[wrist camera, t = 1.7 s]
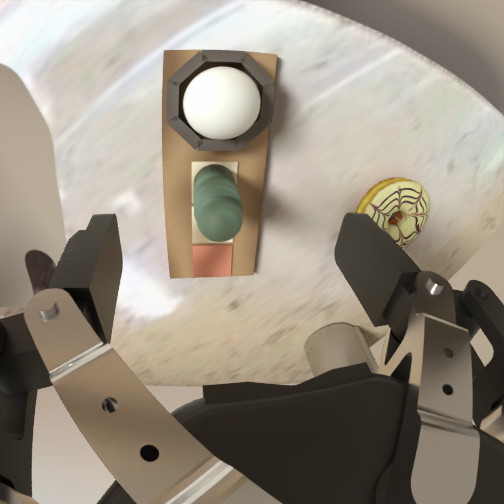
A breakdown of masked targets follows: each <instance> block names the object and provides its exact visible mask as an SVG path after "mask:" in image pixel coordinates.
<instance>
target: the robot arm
mask: <svg viewBox="0 0 504 504" xmlns="http://www.w3.org/2000/svg"><path fill="white" fill-rule="evenodd" d="M335 261H336V264H337V265H338V267H339V269H340V270H341V272H342V273H343V275H344V277H345V278H346V280H347V281H348V283H349V285H350V286H351V288H352V290H353V291H354V293H355V295H356V296H357V298H358V299H359V301H360V303H361V304H362V306H363V308H364V310H365V311H366V313H367V315H368V316H369V318H370V320H371V321H372V323H373V325H374V327H377V326H383V325H389V327H390V328H389V329H388V331H387V333H386V336H385V341H384V346H383V351H382V356H381V361H380V365H379V367H378V365H377V363H376V361H375V359H374V357H373V355H372V353H371V351H370V349H369V347H368V345H367V343H366V341H365V339H364V337H363V335H362V333H361V332H360V330H359V328H358V326H356V327H352V326H350V325H349V324H345V323H338V324H333V325H329V326H327V327H324V328H322V329H320V330H318V331H317V332H316V333H314V334H313V335H312V336H311V337H310V338H309V339H308V340H307V342H306V344H305V352H306V355H307V359H308V361H309V363H310V366H311V369H312V372H313V375H314V378H312V379H310V380H307V381H305V382H303V383H300V384H298V385H292V386H290V385H277V384H265V383H255V382H240V383H229V384H217V385H203V398H201V399H197V400H194V401H192V402H189V403H187V404H185V405H183V406H181V407H180V408H178V409H176V410H175V411H173V412H172V413H171V414H170V413H169V412H168V411H167V410H166V409H165V408H164V407H163V405H162V404H161V403H160V402H159V401H158V400H157V399H156V398H155V397H154V396H153V395H152V394H151V392H150V391H149V390H148V389H147V388H146V387H145V386H144V385H143V383H142V382H141V381H140V380H139V379H138V378H137V376H136V375H135V374H134V373H133V372H132V371H131V369H130V368H129V367H128V366H127V364H126V363H125V362H124V361H123V360H122V358H121V357H120V356H119V355H118V353H117V352H116V351H115V350H114V348H113V347H112V346H111V345H110V341H111V334H112V327H113V320H114V314H115V307H116V302H117V296H118V290H119V285H120V279H121V274H122V266H123V260H122V250H121V244H120V238H119V231H118V223H117V218H116V215H115V214H97V215H93V216H92V218H91V220H90V222H89V225H88V227H87V229H86V230H79V231H78V232H77V233H75V234H74V235H73V236H72V237H71V238H70V239H69V241H68V243H67V245H66V247H65V249H64V252H63V254H62V256H61V258H60V261H59V262H58V265H57V267H56V269H55V272H54V274H53V276H52V279H51V281H50V283H49V286H48V288H47V290H43V291H41V292H39V293H37V294H36V295H34V296H33V297H32V298H31V299H30V300H29V301H28V303H27V305H26V307H25V309H24V313H21V314H17V315H13V316H10V317H6V318H2V319H0V504H39V503H38V502H36V500H34V499H33V498H32V479H31V478H32V476H31V475H32V471H31V470H32V441H33V426H34V415H35V406H36V397H37V390H38V389H41V388H45V387H49V386H54V387H55V390H56V391H57V393H58V395H59V397H60V399H61V400H62V402H63V404H64V405H65V407H66V409H67V410H68V412H69V414H70V415H71V417H72V419H73V420H74V422H75V423H76V425H77V427H78V428H79V430H80V431H81V433H82V434H83V435H84V437H85V439H86V440H87V442H88V443H89V444H90V446H91V447H92V449H93V450H94V451H95V453H96V454H97V456H98V457H99V458H100V460H101V461H102V462H103V464H104V465H105V466H106V468H107V469H108V470H109V471H110V473H111V474H112V475H113V476H114V478H115V479H116V480H115V481H114V483H113V484H112V485H111V486H110V488H109V489H108V490H107V491H106V493H105V494H104V495H103V496H102V498H101V499H100V500H99V501H98V503H97V504H504V305H503V303H502V302H501V301H500V300H499V298H498V297H497V296H496V295H495V293H494V292H493V291H492V290H491V289H490V288H489V287H488V286H487V285H485V284H484V283H482V282H480V281H477V280H470V281H469V282H468V284H467V286H466V288H465V289H464V291H459V290H453V289H452V287H451V285H450V284H449V282H448V281H447V280H446V279H445V278H443V277H442V276H440V275H439V274H437V273H434V272H431V271H421V270H420V269H419V267H418V266H417V265H416V264H415V263H414V262H413V260H412V259H411V258H410V257H409V256H408V255H407V254H406V252H405V251H402V248H401V247H400V246H399V244H396V241H395V240H394V239H393V238H392V237H391V236H390V234H388V233H387V232H386V231H384V230H383V229H381V228H380V227H379V226H378V225H377V223H376V222H375V221H374V220H373V219H372V218H371V217H370V216H369V215H368V214H366V213H347V214H346V215H345V217H344V219H343V223H342V226H341V230H340V233H339V236H338V240H337V243H336V247H335ZM480 328H481V329H482V331H483V332H484V334H485V335H486V337H487V338H488V340H489V341H490V343H491V344H492V346H493V350H494V354H493V358H492V360H491V361H490V362H489V364H487V365H486V367H484V365H483V363H482V361H481V360H480V358H479V357H478V355H477V353H476V352H475V350H474V348H473V347H472V345H471V344H470V341H471V340H472V338H473V337H474V335H475V334H476V333H477V332H478V330H479V329H480ZM472 418H473V420H474V422H475V425H476V426H475V425H473V424H472Z"/></svg>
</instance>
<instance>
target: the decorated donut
mask: <svg viewBox="0 0 504 504" xmlns="http://www.w3.org/2000/svg"><path fill="white" fill-rule="evenodd" d="M429 209H430V199H429V196H428V194H427V192H426V191H425V189H424V187H423V186H422V185H421V184H420V183H417V182H414V181H412V180H409V179H405V178H389V179H386V180H383V181H380V182H379V183H378V184H377V185H375V186H373V187H372V188H371V189H370V190H369V191H368V192H367V193H366V195H365V196H364V198H363V199H362V200H361V202H360V204H359V206H358V209H357V213H366V214H368V215H369V216H370V217H371V218H372V219H373V220H374V221H375V222H376V223H377V225H378V226H379V227H380V228H381V229H383V230H384V231H386V232H387V233H388V234H390V236H391V237H392V238H393V239H394V240H395V241H396V244H399V246H400V247H401V248H402V250H403V249H404V248H405V247H407V246H408V245H409V244H410V243H411V242H413V240H415V238H416V237H417V236H418V235H419V233H420V232H421V231H422V229H423V227H424V225H425V223H426V221H427V218H428V214H429ZM397 211H398V212H397ZM394 212H397V214H396V215H395V217H394V218H393V219H392V220H391V221H388V220H389V218H390V216H391V215H392V214H393V213H394Z"/></svg>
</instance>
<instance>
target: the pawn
mask: <svg viewBox="0 0 504 504" xmlns="http://www.w3.org/2000/svg"><path fill="white" fill-rule="evenodd" d="M194 217H195V220H196V222H197V226H198V228H199V230H200V232H201V233H202V235H203V236H204V237H206V238H207V239H209V240H211V241H214V242H225V241H228V240H231V239H232V238H234V237H235V236H236V235H237V234H238V233H239V231H240V229H241V227H242V223H243V206H242V202H241V199H240V196H239V193H238V189H237V186H236V183H235V180H234V177H233V174H232V173H231V171H230V170H229V169H228V168H226V167H225V166H222V165H219V164H211V165H207V166H205V167H203V168H202V169H200V170H199V171H198V173H197V174H196V176H195V178H194Z"/></svg>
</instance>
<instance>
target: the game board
mask: <svg viewBox="0 0 504 504" xmlns="http://www.w3.org/2000/svg"><path fill="white" fill-rule="evenodd" d="M276 62H277V55H276V54H267V53H257V52H246V51H230V50H164V60H163V88H162V157H163V186H164V206H165V222H166V236H167V249H168V260H169V271H170V278H198V277H222V276H245V275H253V274H254V265H255V256H256V247H257V238H258V229H259V220H260V211H261V202H262V193H263V183H264V174H265V165H266V156H267V147H268V137H269V128H270V123H271V122H272V113H273V103H274V94H275V84H274V83H275V82H274V81H275V71H276ZM214 67H231V68H235V69H238V70H240V71H242V72H244V73H245V74H246V75H248V76H249V77H250V78H251V79H252V80H253V82H254V83H255V85H256V86H257V88H258V91H259V94H260V111H259V114H258V116H257V119H256V120H255V122H254V124H253V125H252V126H251V127H250V128H249V129H248V130H247V131H246V132H244V133H243V134H241V135H239V136H237V137H234V138H231V139H226V140H216V139H211V138H208V137H205V136H203V135H201V134H200V133H198V132H197V131H195V130H194V129H193V128H192V127H191V125H190V124H189V123H188V121H187V119H186V117H185V114H184V109H183V99H184V94H185V91H186V89H187V87H188V85H189V84H190V83H191V81H192V80H193V79H194V78H195V77H196V76H197V75H199V74H200V73H202V72H203V71H205V70H208V69H211V68H214ZM211 164H219V165H222V166H225V167H226V168H228V169H229V170H230V171H231V173H232V174H233V177H234V180H235V183H236V186H237V189H238V193H239V196H240V199H241V202H242V206H243V223H242V227H241V229H240V231H239V233H238V234H237V235H236V236H235V237H234V238H232V239H231V240H228V241H225V242H214V241H211V240H209V239H207V238H206V237H204V236H203V235H202V233H201V232H200V230H199V228H198V226H197V222H196V220H195V217H194V178H195V176H196V174H197V173H198V171H199V170H200V169H202V168H203V167H205V166H207V165H211Z"/></svg>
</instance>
